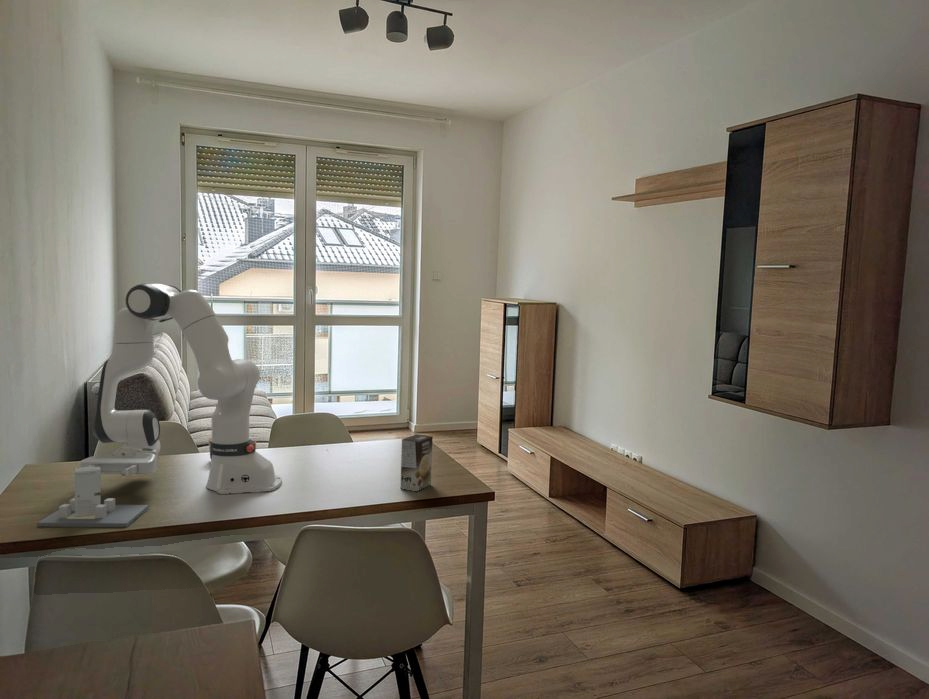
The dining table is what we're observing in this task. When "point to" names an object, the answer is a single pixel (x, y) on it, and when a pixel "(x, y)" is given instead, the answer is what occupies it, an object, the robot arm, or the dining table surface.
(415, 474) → the coffee box
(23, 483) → the dining table surface
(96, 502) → the skincare box
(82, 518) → the board
